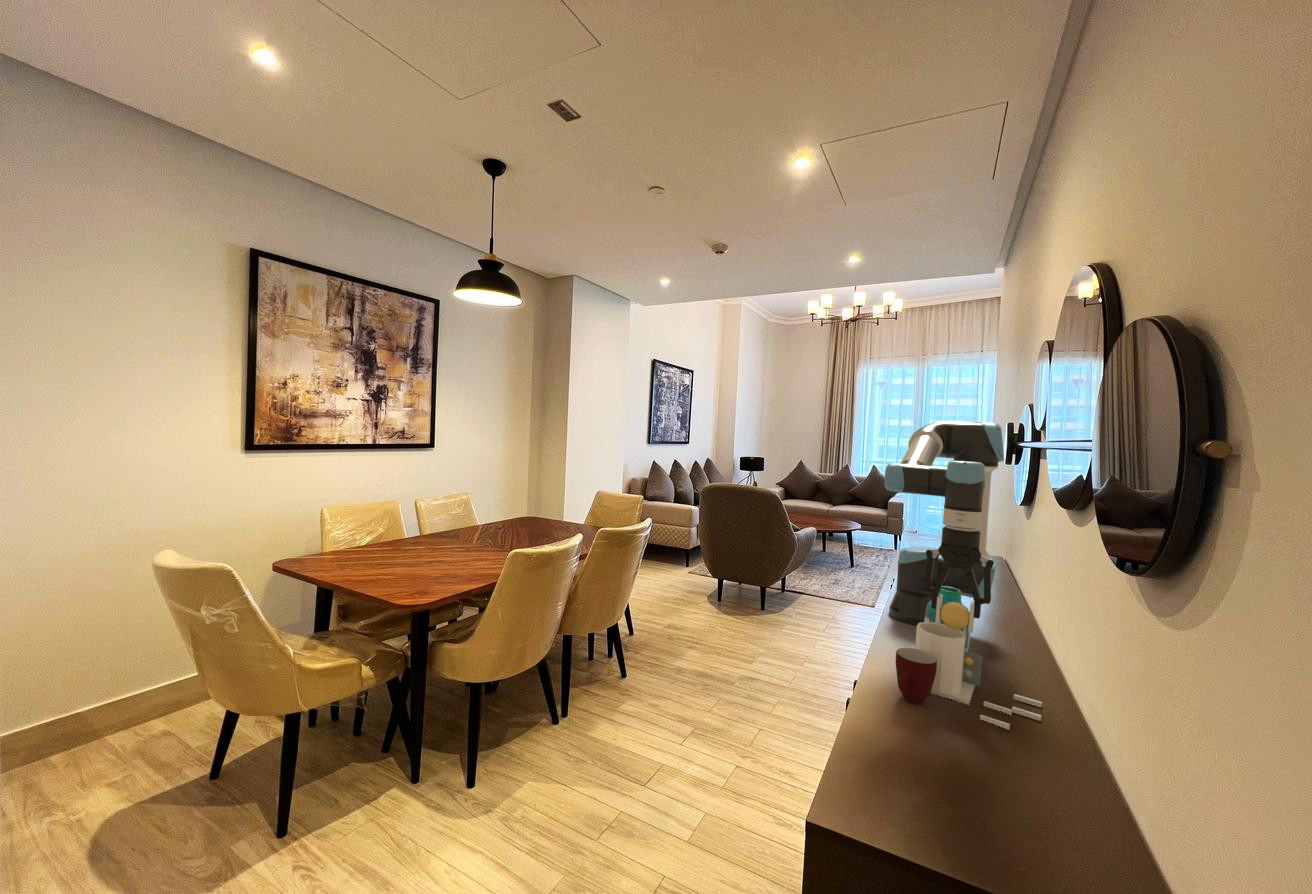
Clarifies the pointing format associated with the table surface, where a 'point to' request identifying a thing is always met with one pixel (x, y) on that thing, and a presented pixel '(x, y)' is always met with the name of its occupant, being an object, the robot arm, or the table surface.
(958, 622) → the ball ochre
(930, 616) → the vase
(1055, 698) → the table surface
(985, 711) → the table surface
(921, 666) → the mug
